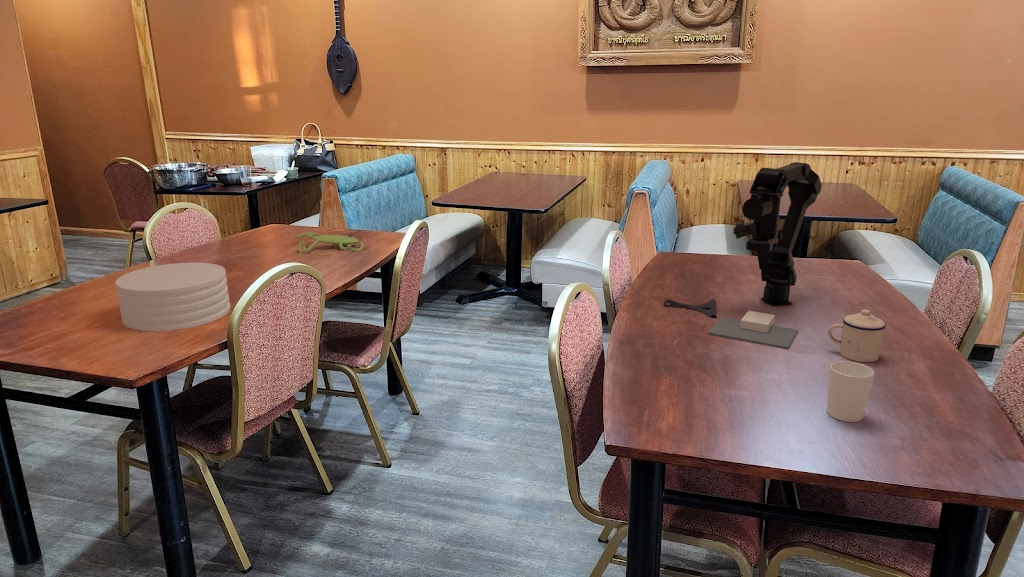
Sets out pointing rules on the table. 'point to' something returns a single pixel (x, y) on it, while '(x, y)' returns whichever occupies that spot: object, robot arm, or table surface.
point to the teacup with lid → (860, 336)
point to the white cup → (848, 390)
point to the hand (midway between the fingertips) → (761, 269)
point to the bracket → (695, 307)
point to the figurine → (330, 241)
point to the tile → (757, 321)
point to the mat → (754, 333)
